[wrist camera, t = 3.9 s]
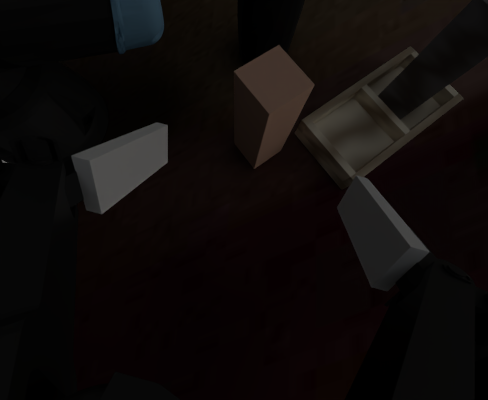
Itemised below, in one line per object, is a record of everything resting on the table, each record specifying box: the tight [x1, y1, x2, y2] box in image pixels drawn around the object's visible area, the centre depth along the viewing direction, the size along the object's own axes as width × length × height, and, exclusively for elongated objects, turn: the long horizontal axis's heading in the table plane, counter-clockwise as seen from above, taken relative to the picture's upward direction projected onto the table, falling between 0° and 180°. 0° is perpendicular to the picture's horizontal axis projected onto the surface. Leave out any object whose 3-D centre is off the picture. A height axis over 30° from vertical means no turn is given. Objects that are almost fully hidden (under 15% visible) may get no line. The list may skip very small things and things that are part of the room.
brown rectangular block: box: [234, 45, 314, 169], centre depth 24 cm, size 5×5×13 cm
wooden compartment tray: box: [294, 0, 488, 190], centre depth 24 cm, size 11×22×14 cm, turn 127°
